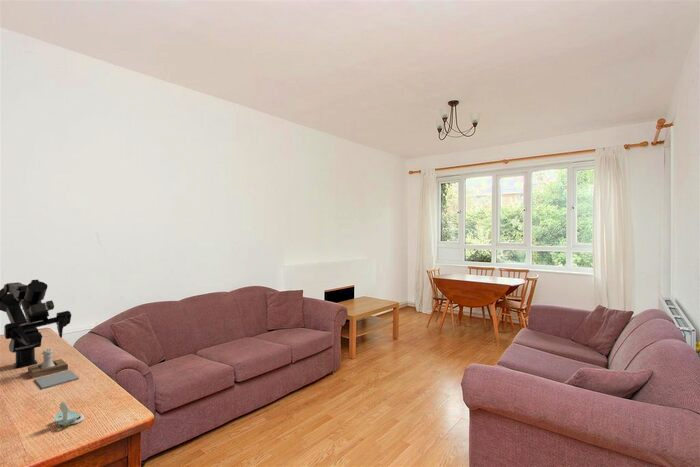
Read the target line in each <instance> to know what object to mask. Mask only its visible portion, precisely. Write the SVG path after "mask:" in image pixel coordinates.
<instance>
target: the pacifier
mask: <svg viewBox="0 0 700 467" xmlns="http://www.w3.org/2000/svg"><path fill="white" fill-rule="evenodd" d="M59 410H60V411H58V412H57V413H56V414H55V416H54V418H53V420H54V422H55V423H57V425H59V426H60V425H61V426H63V427H65V426H66V427H67V426H71V425H75V424H78V423H81V422H82V421H84V419H85V415H84V414H82V413H78V412H76V411H74V410H71V409H70V410H69V406H68V404H67V402H66V401H65V400H63V401H61V403H60V404H59ZM76 419H77V420H76Z"/></svg>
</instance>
